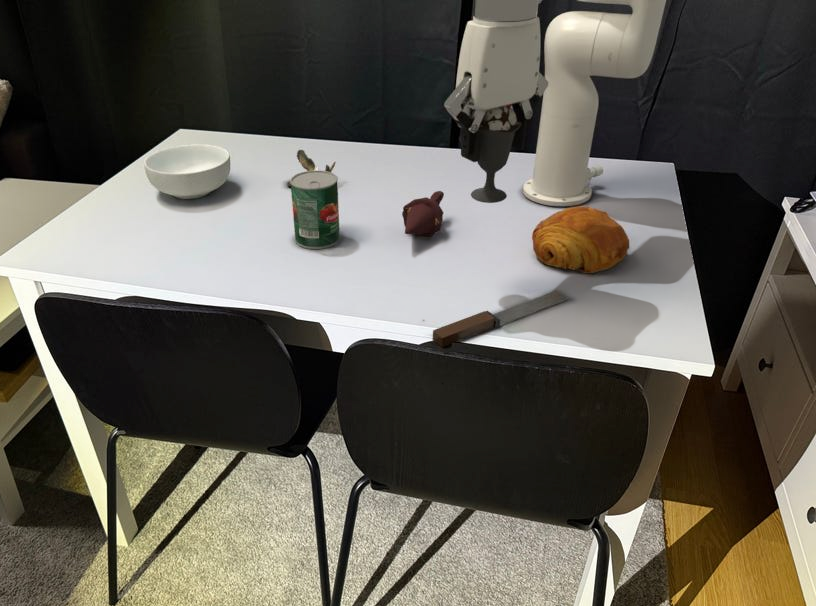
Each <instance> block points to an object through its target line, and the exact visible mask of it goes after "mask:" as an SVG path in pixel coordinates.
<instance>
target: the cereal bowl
mask: <svg viewBox="0 0 816 606" xmlns="http://www.w3.org/2000/svg"><path fill="white" fill-rule="evenodd" d="M143 161H144V162H143V166H144V170H145V174H146V178H147V180H148V181H149V183H150V184H151V185H152V187H153V188H154V189H156V190H157V191H159V192H161V193H164V195H165V194H167V195H169V196H173V197H175V198H177V199H181V200H193V199H194V200H195V199H199V198H202V197H205V196H207V195H209V194H210V193H211V192H213V191H215V190H217V189H219V188H220V187H221V186H222V185H224V183H225V182H226V181H227V180H228V178H229V175H230V173H231V155H230V153H229V152H228V150H227V149H225V148H223V147H220V146H218V145H213V144H203V143H192V144H191V143H190V144H183V145H182V144H180V145H175V146H171V147H166V148H162V149H160V150H157V151H155V152H152V153H151V154H149V155H148V156H147V157H146V158H145V159H144V160H143Z"/></svg>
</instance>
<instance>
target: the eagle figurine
mask: <svg viewBox="0 0 816 606" xmlns="http://www.w3.org/2000/svg"><path fill="white" fill-rule="evenodd" d="M296 158H297V160H298V163H299V164H300V165H301V167H302V168H303V169H305V170H306V171H315V170H319V171H320V167H319V166H317V167H316V164H315V162H314V160H313V159H312V158H310V157H308V155H307V154H306V152H305V150H303V149H298V150H297V152H296ZM335 166H336V161H334V162H333V163H332V164H331V166H330V165H329V164H326V165H325V169H324V171H327V172H331V173H332V171H333V169H334V167H335ZM286 187H291V183H290V180H288V182H287V183H286Z"/></svg>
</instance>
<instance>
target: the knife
mask: <svg viewBox="0 0 816 606" xmlns="http://www.w3.org/2000/svg"><path fill="white" fill-rule="evenodd" d="M568 300H569V297H568V296H565V295H564V294H563V293H561V292H559V291H557V290H554V291H551V292H549V293H546V294H542V295H541V296H538V297H534V298H532V299H530V300H528V301H524V302H521V303H519V304H517V305H514V306H511V307H509V308H506V309H504V310H501V311H498V312H495V313H491V312H490V311H489V310H484V311H481V312H479V313H476V314H473V315H470V316H468V317H464V318H463V319H460V320H457V321H454V322H451V323H449V324H446V325H444V326H441V327H438V328H435V329H433V330H432V341H433V342H435V343H436V344H437V345H438V346H440V347H441V348H444V347H447V346H450V345H452V344H454V343H457V342H460V341H463V340H466V339H467V338H470V337H473V336H475V335H478V334H481V333H483V332H486V331H488V330H491V329H498V328H500V327H501V326H504V325H506V324H507V325H508V324H509V323H512V322H515V321H517V320H519V319H522V318H525V317H528V316H530V315H532V314H536V313H538V312H540V311H542V310H546V309H548V308H551V307H554V306H556V305H558V304H561V303H563V302H564V303H565V302H566V301H568Z"/></svg>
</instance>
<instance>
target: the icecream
mask: <svg viewBox="0 0 816 606" xmlns="http://www.w3.org/2000/svg"><path fill="white" fill-rule="evenodd" d="M444 197H445V194H444V191H442V190H438V191H435V192H433V193H432V194H431V196H430V197H421V198H415V199H413V200H411V201H410V202H409V203H407V204H405V205H404V206H403V207H402V210H403V211H402V212H401V215H402V218H403V226H404V227H405V228H404V234H405V235H413V236H414V237H416V238H425V239H430V238H433V236H435V235H436V234H437V233H438V232H441V229H442V226H443V221H444V219H443V216H444V210H443V209H442V207H441V206H440V204H441V202H442V201H443V199H444Z"/></svg>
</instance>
